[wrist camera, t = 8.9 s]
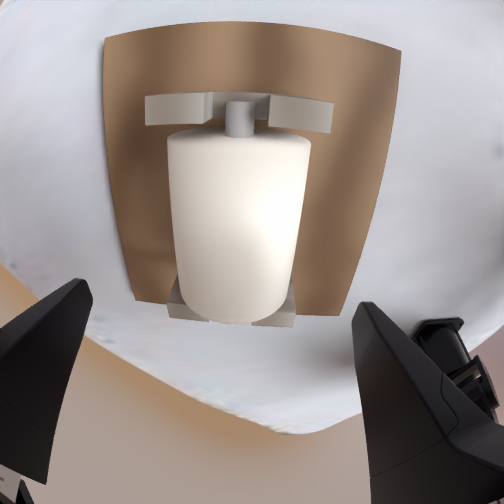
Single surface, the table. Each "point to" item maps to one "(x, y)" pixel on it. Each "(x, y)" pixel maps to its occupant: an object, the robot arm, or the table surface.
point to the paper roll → (236, 214)
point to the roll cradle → (266, 116)
